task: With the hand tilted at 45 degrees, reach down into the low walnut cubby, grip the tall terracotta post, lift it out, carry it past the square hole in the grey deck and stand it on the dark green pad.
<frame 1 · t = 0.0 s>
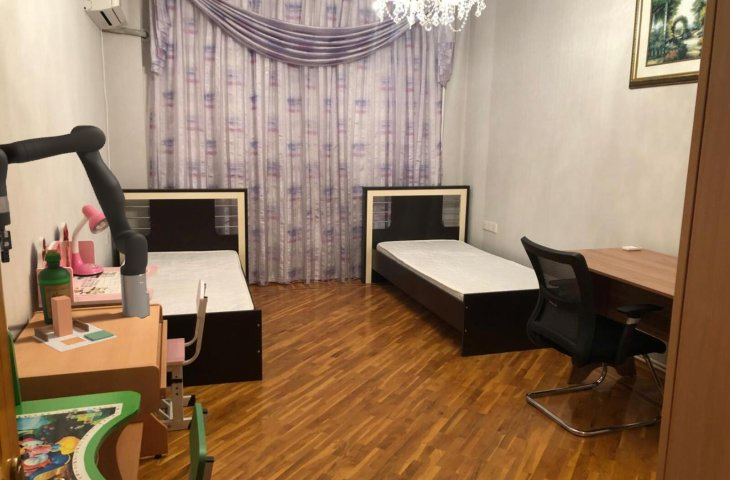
hand: (0, 260, 183), 29 cm above the table, tool pointing down, fingers open, 8 cm apart
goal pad: (98, 336, 196), resting on deck
bottle: (57, 324, 212), on the table
cubby: (62, 330, 198), on the deck, point 2 cm above the table
post: (62, 316, 197), in the cubby, point 8 cm above the table, touching deck
deck: (74, 339, 196), on the table
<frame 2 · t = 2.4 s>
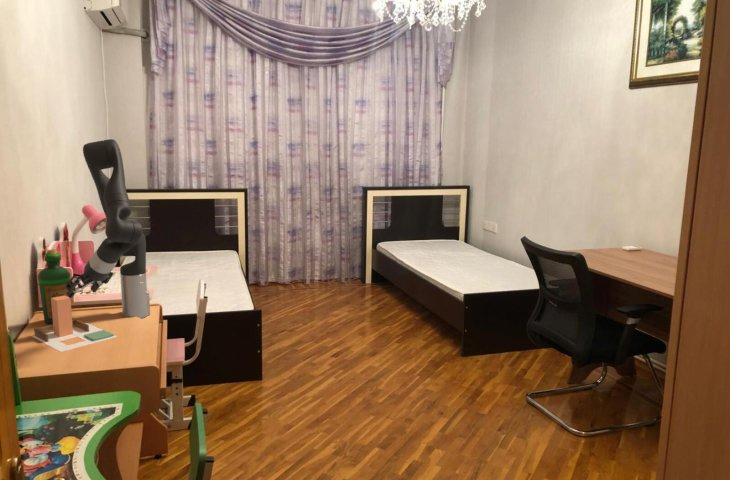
hand: (81, 293, 190), 18 cm above the table, tool tilted 45°, fingers open, 8 cm apart
nothing on the table moved.
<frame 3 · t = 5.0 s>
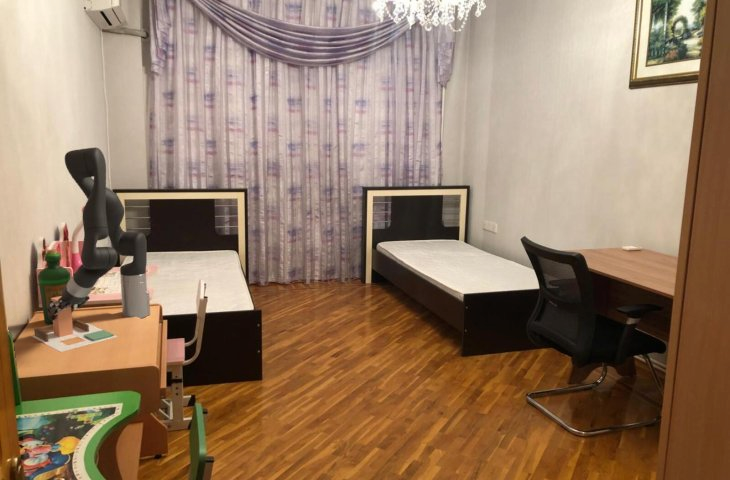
hand: (58, 316, 198), 7 cm above the table, tool tilted 45°, fingers closed on post, 5 cm apart
post: (62, 316, 197), in the cubby, point 8 cm above the table, touching deck, gripper
everything else where it was.
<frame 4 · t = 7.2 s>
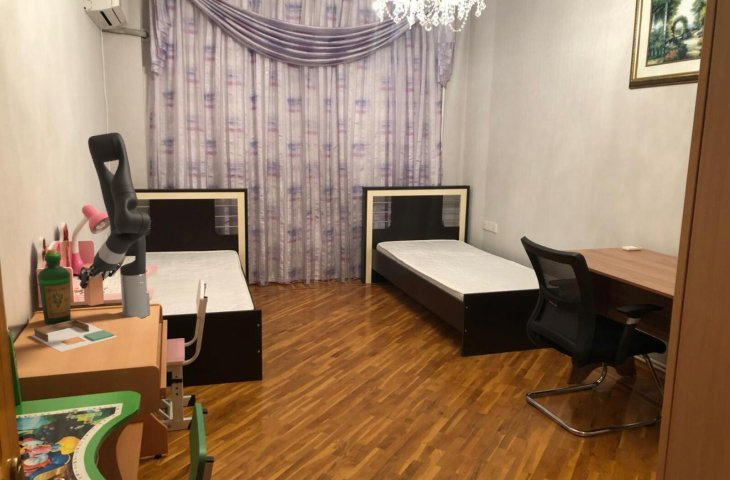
hand: (89, 284, 194), 19 cm above the table, tool tilted 45°, fingers closed on post, 5 cm apart
post: (93, 284, 193), point 20 cm above the table, touching gripper
everything else where it was.
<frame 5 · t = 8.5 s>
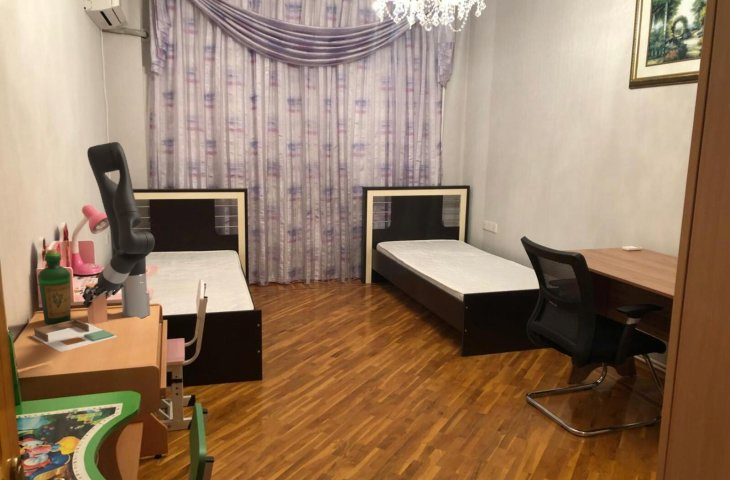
hand: (93, 303, 195), 13 cm above the table, tool tilted 45°, fingers closed on post, 5 cm apart
post: (96, 303, 194), point 13 cm above the table, touching gripper
everything else where it was.
when the fingers open (9 cm above the table, at t = 9.6 s): post drops 1 cm, resting on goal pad.
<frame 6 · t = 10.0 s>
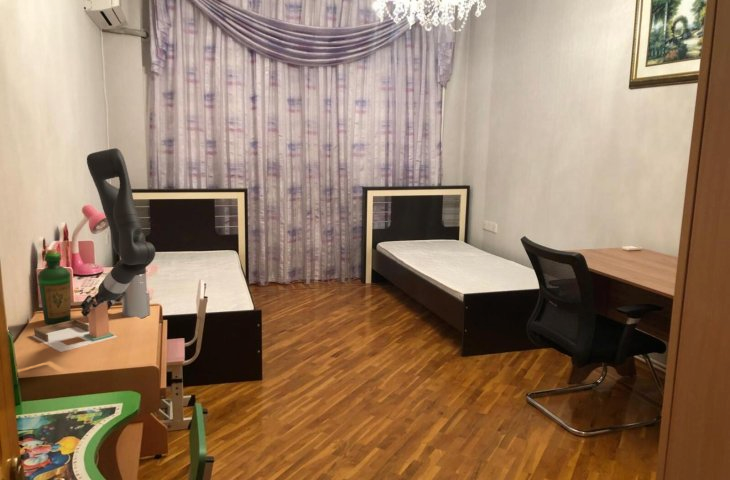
hand: (94, 311, 196), 10 cm above the table, tool tilted 45°, fingers open, 8 cm apart
post: (98, 316, 195), on the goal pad, point 8 cm above the table
everything else where it was.
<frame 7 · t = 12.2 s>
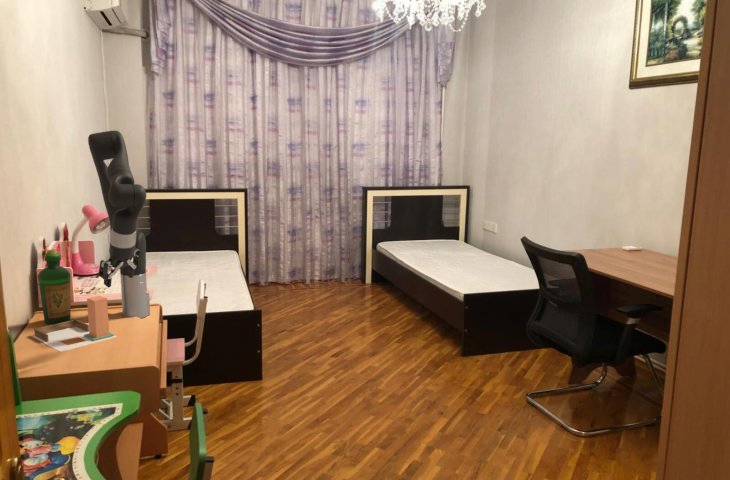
hand: (119, 281, 188), 22 cm above the table, tool tilted 25°, fingers open, 8 cm apart
nothing on the table moved.
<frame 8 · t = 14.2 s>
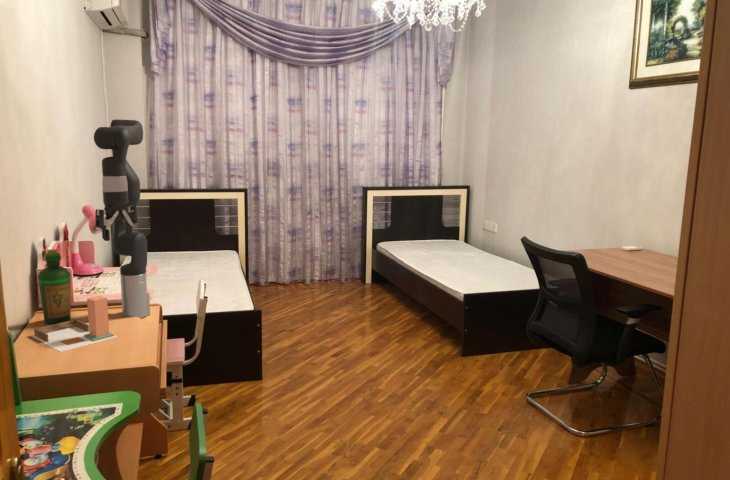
hand: (118, 238, 188), 36 cm above the table, tool pointing down, fingers open, 8 cm apart
nothing on the table moved.
at the end: post inside the target area on the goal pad (0.1 cm from its centre), point 7.1 cm above the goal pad's base; post tilted 0°; the gripper is holding nothing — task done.
